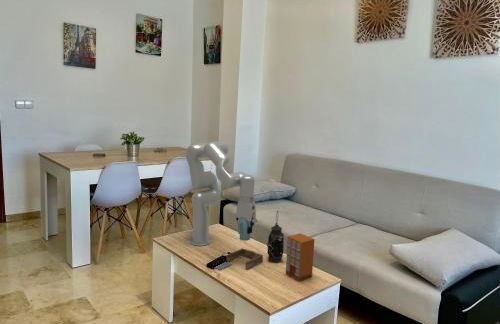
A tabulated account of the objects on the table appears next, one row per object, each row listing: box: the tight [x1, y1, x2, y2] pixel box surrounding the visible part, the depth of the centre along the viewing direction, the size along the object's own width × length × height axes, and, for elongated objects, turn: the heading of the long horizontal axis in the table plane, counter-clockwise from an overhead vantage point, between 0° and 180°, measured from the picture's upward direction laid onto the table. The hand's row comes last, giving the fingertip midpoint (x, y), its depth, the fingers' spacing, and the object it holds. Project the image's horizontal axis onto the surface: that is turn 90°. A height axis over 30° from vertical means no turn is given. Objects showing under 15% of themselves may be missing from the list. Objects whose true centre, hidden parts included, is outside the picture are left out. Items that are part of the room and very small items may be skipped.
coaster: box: [213, 261, 233, 271], centre depth 201 cm, size 9×9×1 cm
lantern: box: [266, 210, 285, 263], centre depth 209 cm, size 10×9×28 cm
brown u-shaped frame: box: [225, 248, 264, 271], centre depth 206 cm, size 14×14×4 cm
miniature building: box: [285, 232, 315, 282], centre depth 191 cm, size 10×9×20 cm
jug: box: [237, 217, 251, 242], centre depth 203 cm, size 8×6×12 cm
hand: (245, 231), depth 204 cm, fingers closed on jug, 5 cm apart
